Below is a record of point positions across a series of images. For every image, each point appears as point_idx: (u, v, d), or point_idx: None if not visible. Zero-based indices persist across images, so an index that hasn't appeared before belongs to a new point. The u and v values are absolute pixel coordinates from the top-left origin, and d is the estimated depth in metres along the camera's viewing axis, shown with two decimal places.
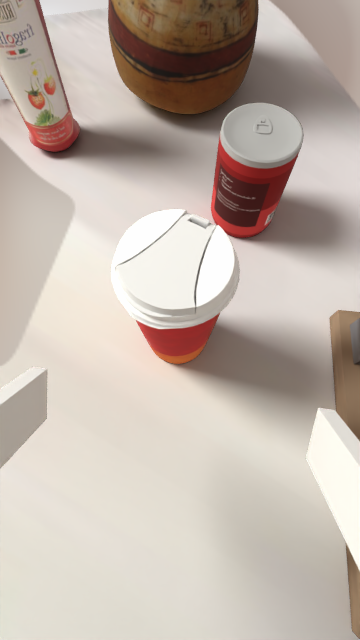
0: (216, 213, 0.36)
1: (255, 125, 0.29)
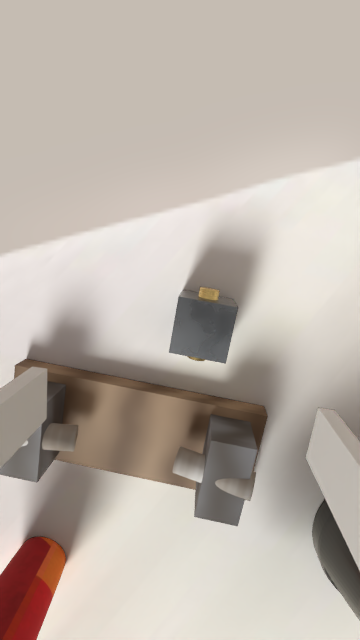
0: None
1: None
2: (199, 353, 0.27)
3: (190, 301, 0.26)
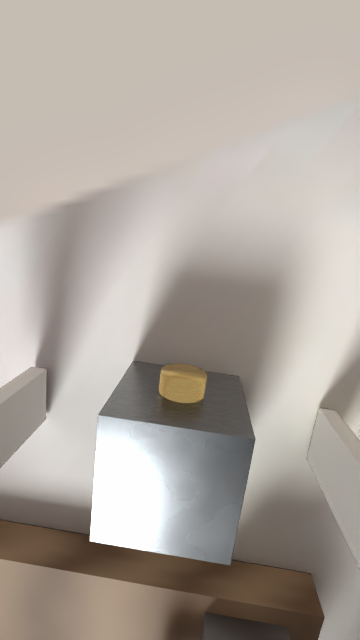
0: None
1: None
2: (164, 543, 0.11)
3: (128, 426, 0.10)
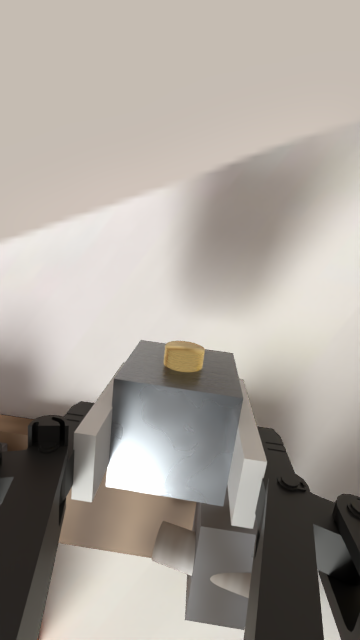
0: None
1: None
2: (167, 488, 0.13)
3: (139, 387, 0.12)
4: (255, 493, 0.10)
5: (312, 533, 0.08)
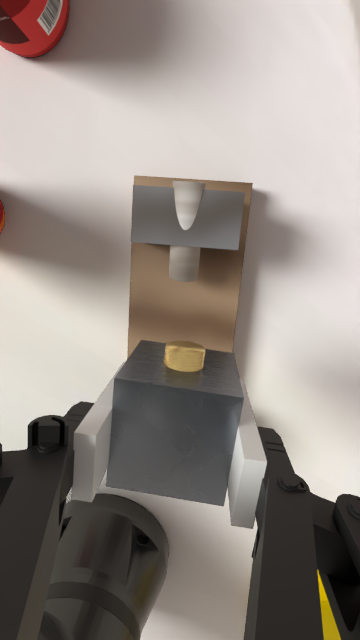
0: None
1: None
2: (168, 487, 0.13)
3: (139, 387, 0.12)
4: (255, 493, 0.10)
5: (312, 533, 0.08)
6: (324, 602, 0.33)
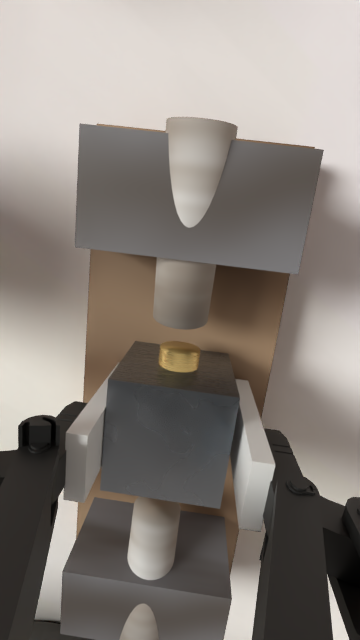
0: None
1: None
2: (163, 491, 0.13)
3: (133, 388, 0.12)
4: (263, 496, 0.10)
5: (321, 537, 0.08)
6: None
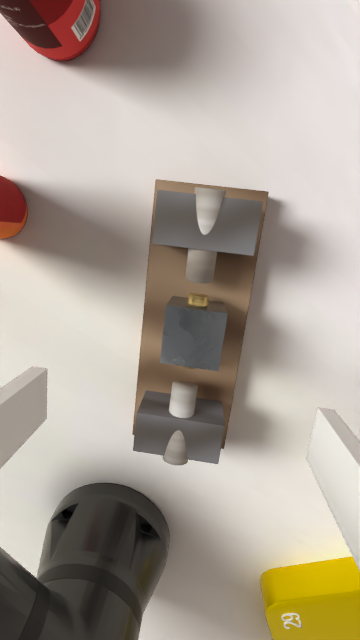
0: None
1: None
2: (191, 362, 0.26)
3: (178, 309, 0.25)
4: None
5: None
6: (316, 596, 0.35)
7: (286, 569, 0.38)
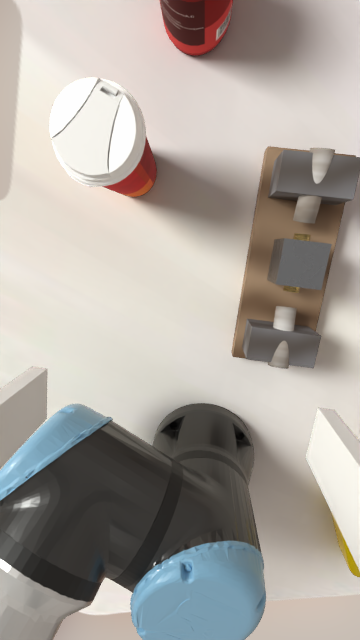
0: (165, 25, 0.34)
1: None
2: (300, 283, 0.34)
3: (293, 241, 0.33)
4: None
5: None
6: None
7: None
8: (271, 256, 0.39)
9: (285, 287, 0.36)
